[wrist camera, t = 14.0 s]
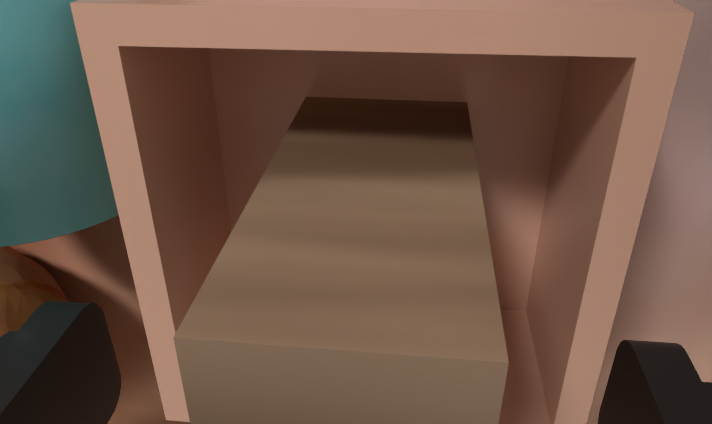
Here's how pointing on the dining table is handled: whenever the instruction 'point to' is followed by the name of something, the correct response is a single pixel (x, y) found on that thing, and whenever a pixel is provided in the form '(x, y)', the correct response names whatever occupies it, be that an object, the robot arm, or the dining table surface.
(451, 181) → the walnut block
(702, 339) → the dining table surface
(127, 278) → the dining table surface
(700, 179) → the dining table surface
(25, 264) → the onion
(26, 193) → the teal glossy cylinder
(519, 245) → the planter
